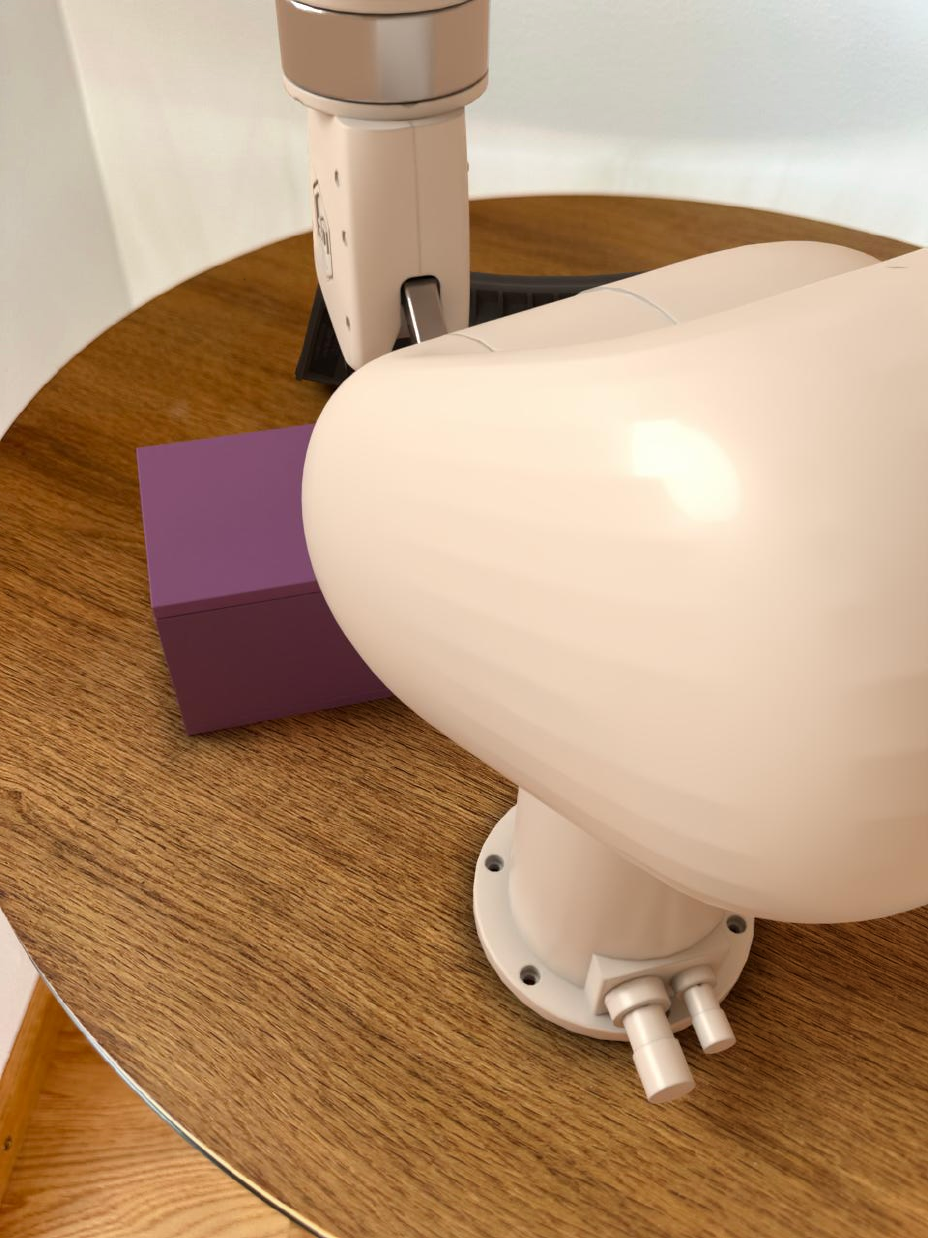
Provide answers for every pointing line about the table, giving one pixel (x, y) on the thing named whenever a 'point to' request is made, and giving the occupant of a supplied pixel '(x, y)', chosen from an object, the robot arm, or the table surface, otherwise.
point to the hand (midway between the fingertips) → (399, 428)
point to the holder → (263, 663)
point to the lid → (225, 520)
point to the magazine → (486, 303)
